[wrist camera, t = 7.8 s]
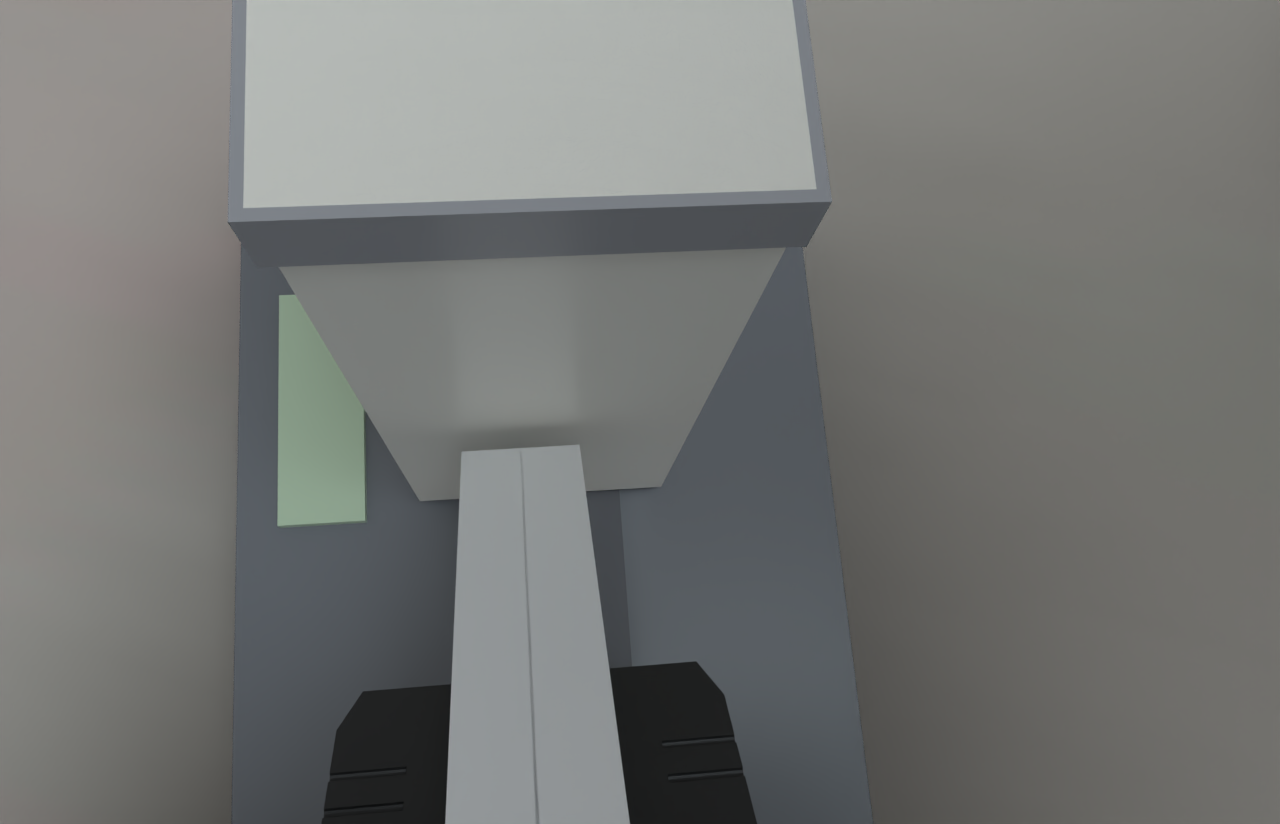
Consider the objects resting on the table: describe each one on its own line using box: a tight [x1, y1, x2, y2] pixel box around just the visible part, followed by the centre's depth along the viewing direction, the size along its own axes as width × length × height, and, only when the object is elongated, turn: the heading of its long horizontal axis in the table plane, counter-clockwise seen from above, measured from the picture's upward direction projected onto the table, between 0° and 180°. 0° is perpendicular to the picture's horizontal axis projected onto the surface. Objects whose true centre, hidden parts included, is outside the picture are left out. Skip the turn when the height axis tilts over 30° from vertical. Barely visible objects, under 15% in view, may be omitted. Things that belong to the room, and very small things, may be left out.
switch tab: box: [228, 0, 832, 501], centre depth 14 cm, size 4×4×11 cm
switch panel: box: [232, 243, 873, 824], centre depth 19 cm, size 18×10×3 cm, turn 4°
